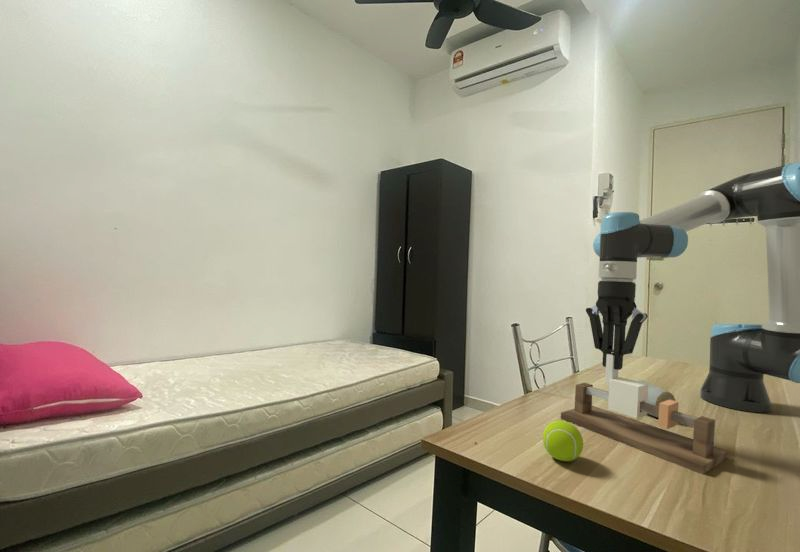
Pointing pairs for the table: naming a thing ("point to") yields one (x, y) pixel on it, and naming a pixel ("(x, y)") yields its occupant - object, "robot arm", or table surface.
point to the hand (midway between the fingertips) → (611, 382)
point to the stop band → (667, 414)
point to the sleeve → (627, 396)
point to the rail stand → (649, 431)
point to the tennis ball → (563, 440)
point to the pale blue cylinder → (657, 395)
